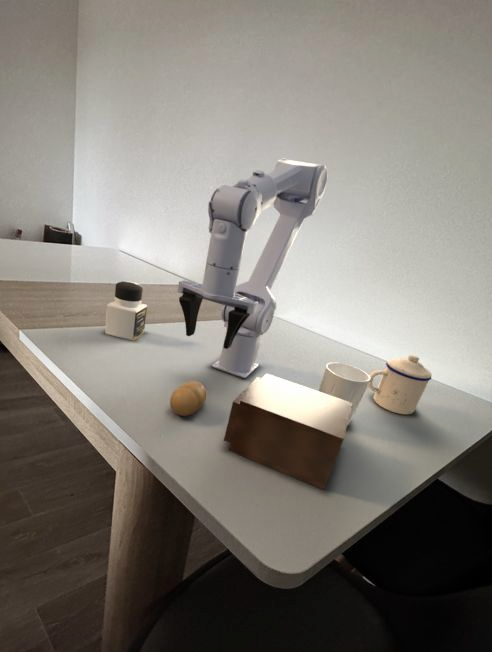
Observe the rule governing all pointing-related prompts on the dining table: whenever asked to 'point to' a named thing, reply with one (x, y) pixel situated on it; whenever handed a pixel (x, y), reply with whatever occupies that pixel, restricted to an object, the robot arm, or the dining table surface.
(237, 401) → the drawer
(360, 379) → the white cup
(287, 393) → the cabinet
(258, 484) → the dining table surface
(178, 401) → the bread roll
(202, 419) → the dining table surface
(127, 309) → the medicine bottle
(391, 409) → the teacup with lid
